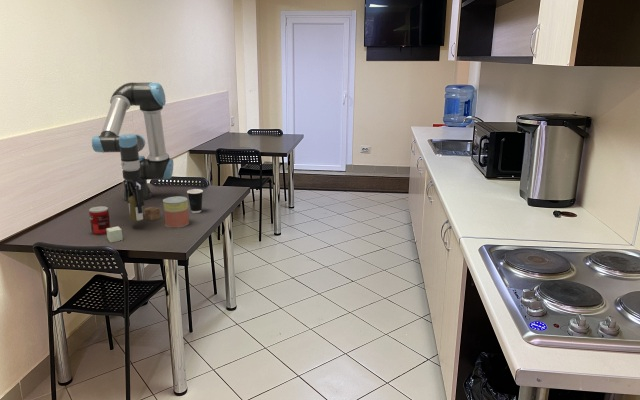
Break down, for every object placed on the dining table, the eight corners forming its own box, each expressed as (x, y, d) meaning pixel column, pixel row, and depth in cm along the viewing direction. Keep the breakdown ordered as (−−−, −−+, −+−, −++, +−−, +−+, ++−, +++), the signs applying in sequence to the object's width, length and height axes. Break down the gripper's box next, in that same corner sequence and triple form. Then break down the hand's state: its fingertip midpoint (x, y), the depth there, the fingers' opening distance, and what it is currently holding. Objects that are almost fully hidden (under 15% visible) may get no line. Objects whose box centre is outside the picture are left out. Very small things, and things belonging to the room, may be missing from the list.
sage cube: (107, 239, 207) (106, 228, 206) (119, 237, 210) (118, 226, 209) (110, 242, 203) (109, 231, 202) (122, 240, 206) (121, 229, 205)
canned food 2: (193, 221, 232) (191, 197, 228) (182, 228, 221) (180, 203, 218) (172, 219, 234) (170, 195, 231) (160, 226, 223) (157, 202, 220)
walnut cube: (145, 218, 234) (144, 209, 233) (153, 216, 239) (152, 206, 237) (152, 220, 232) (151, 210, 231) (160, 217, 236) (159, 208, 235)
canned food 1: (96, 228, 220) (93, 206, 216) (113, 229, 219) (111, 206, 216) (88, 234, 212) (85, 211, 209) (106, 234, 212) (103, 211, 209)
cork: (126, 219, 219) (124, 197, 216) (135, 215, 225) (133, 193, 221) (137, 221, 217) (134, 198, 214) (146, 217, 222) (144, 195, 219)
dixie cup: (189, 214, 241) (187, 193, 238) (187, 210, 248) (186, 189, 245) (205, 213, 244) (203, 192, 241) (203, 208, 251) (202, 188, 248)
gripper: (113, 167, 217) (119, 215, 224) (133, 174, 205) (138, 224, 212) (129, 164, 223) (134, 211, 230) (149, 171, 210) (154, 220, 217)
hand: (136, 217), depth 221 cm, fingers closed on cork, 6 cm apart
